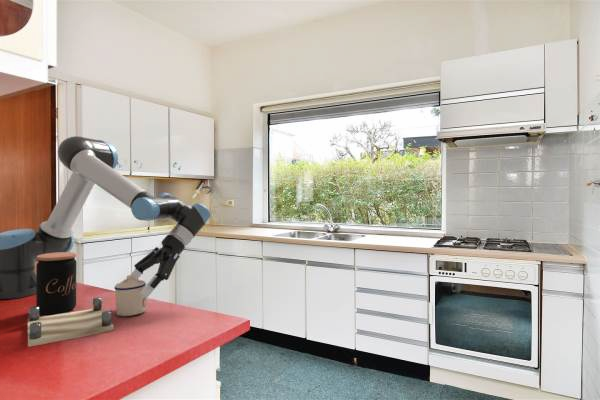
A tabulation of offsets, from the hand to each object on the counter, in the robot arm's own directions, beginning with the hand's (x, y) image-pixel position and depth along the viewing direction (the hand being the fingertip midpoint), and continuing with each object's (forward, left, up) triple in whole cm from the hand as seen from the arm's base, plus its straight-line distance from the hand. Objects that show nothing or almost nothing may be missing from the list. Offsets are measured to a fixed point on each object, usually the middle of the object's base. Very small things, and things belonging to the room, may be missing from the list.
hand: (133, 291), depth 118 cm
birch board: (+5, -18, -6) cm, 19 cm away
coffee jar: (-14, -20, -7) cm, 25 cm away
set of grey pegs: (+5, -18, -5) cm, 19 cm away
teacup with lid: (0, -1, -6) cm, 7 cm away
